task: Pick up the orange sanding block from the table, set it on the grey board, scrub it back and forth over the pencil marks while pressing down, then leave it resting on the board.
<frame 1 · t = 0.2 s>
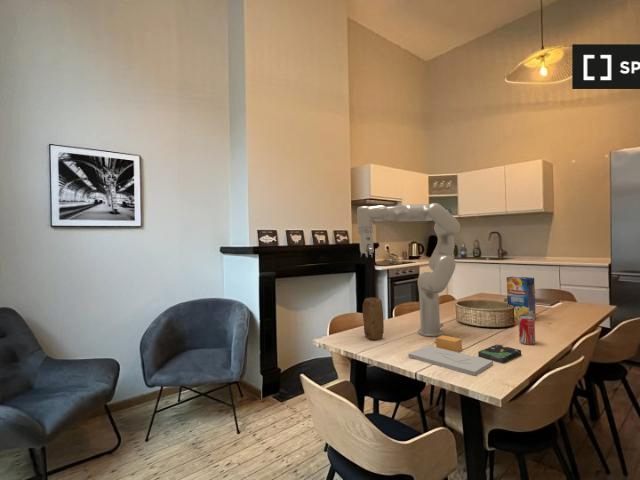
hand: (366, 264, 172), 37 cm above the table, tool pointing down, fingers open, 9 cm apart
juice carton: (521, 319, 199), on the table
block: (373, 338, 172), on the table
soda can: (527, 343, 155), on the table
sanding block: (449, 349, 151), on the table
disk drive: (499, 357, 140), on the table
board: (448, 360, 137), on the table
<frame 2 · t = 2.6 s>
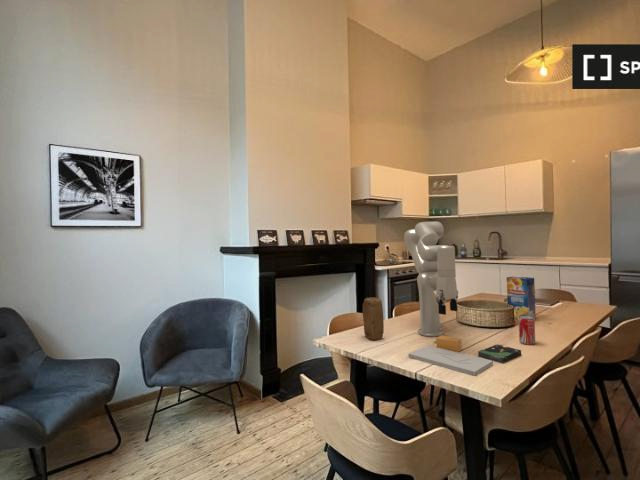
hand: (448, 312, 150), 16 cm above the table, tool pointing down, fingers open, 9 cm apart
nothing on the table moved.
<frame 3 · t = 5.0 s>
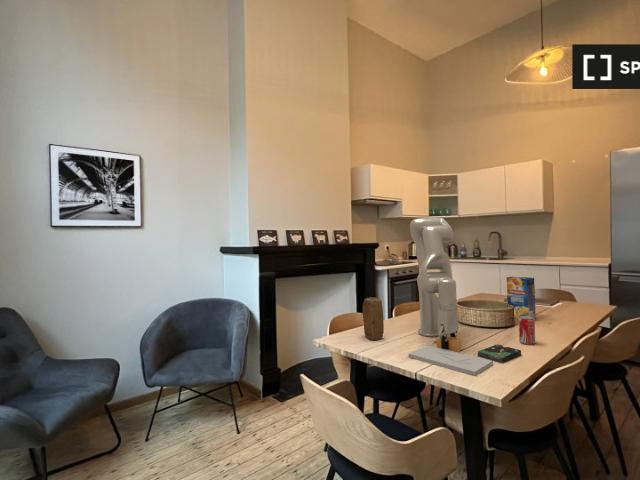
hand: (449, 347, 151), 1 cm above the table, tool pointing down, fingers closed on sanding block, 6 cm apart
sanding block: (449, 349, 151), on the table, touching gripper
everything else where it was.
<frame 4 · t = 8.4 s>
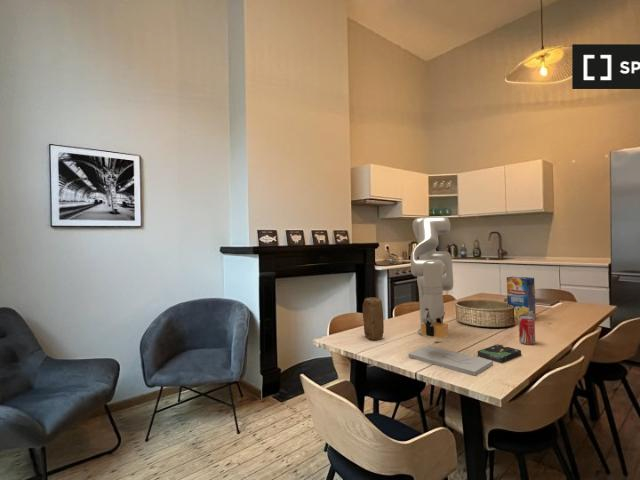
hand: (434, 333, 141), 10 cm above the table, tool pointing down, fingers closed on sanding block, 6 cm apart
sanding block: (434, 335, 141), point 9 cm above the table, touching gripper
everything else where it was.
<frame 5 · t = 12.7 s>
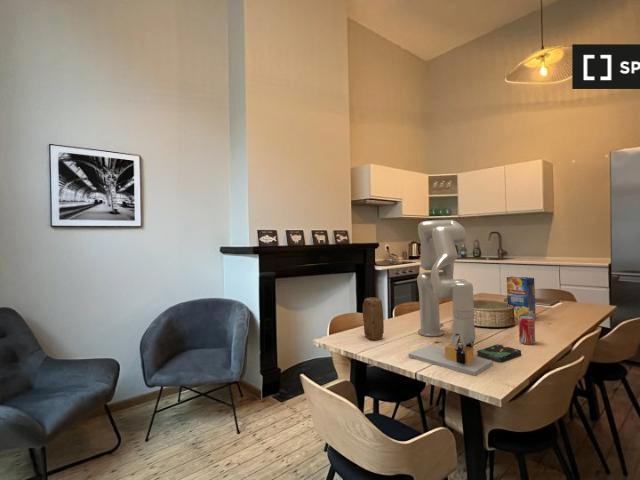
hand: (465, 360, 132), 2 cm above the table, tool pointing down, fingers open, 5 cm apart
sanding block: (459, 359, 134), point 2 cm above the table, touching board, gripper
everything else where it was.
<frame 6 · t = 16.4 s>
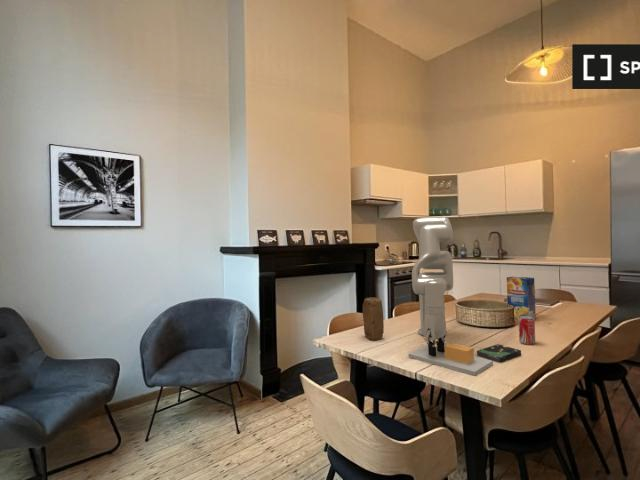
hand: (436, 353, 141), 2 cm above the table, tool pointing down, fingers open, 5 cm apart
sanding block: (459, 359, 134), point 2 cm above the table, touching board
everything else where it was.
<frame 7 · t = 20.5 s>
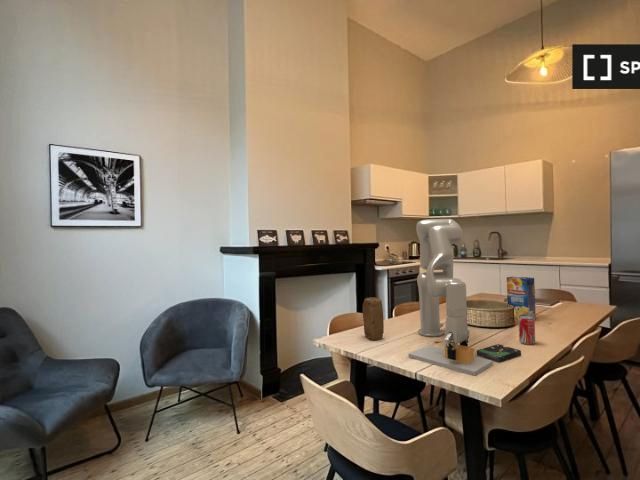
hand: (458, 356, 134), 3 cm above the table, tool pointing down, fingers open, 9 cm apart
nothing on the table moved.
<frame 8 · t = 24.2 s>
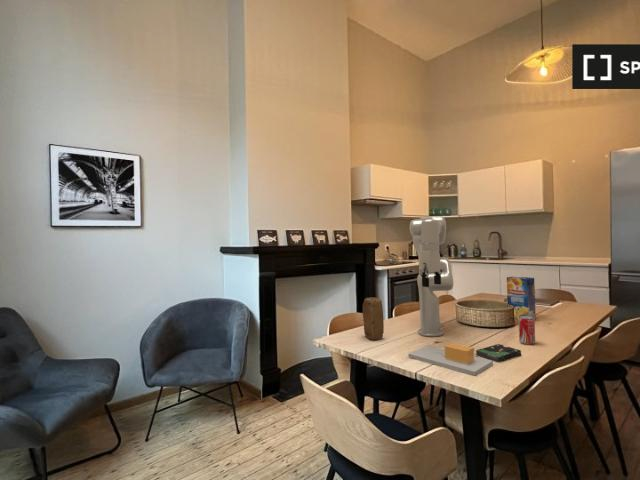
hand: (431, 285, 152), 28 cm above the table, tool pointing down, fingers open, 9 cm apart
nothing on the table moved.
at the end: sanding block inside the target area on the board (2.5 cm from its centre), point 1.5 cm above the board's base; sanding block moved 17.4 cm from its start; the gripper is holding nothing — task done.
